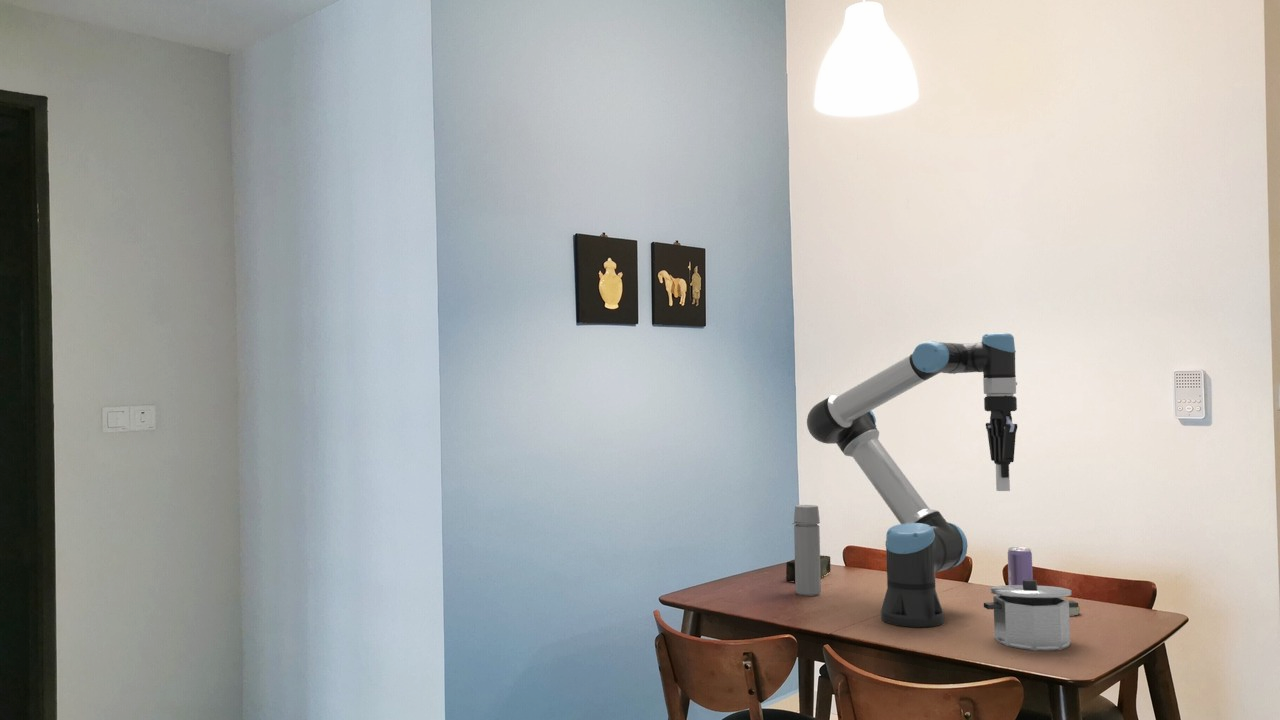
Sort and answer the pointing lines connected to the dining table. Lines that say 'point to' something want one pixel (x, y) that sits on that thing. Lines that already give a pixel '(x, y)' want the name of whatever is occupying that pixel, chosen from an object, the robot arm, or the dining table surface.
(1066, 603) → the pot
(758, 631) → the dining table surface
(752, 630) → the dining table surface
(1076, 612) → the grey block
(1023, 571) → the beverage can
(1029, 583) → the lid
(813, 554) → the water bottle
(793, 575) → the beverage carton
